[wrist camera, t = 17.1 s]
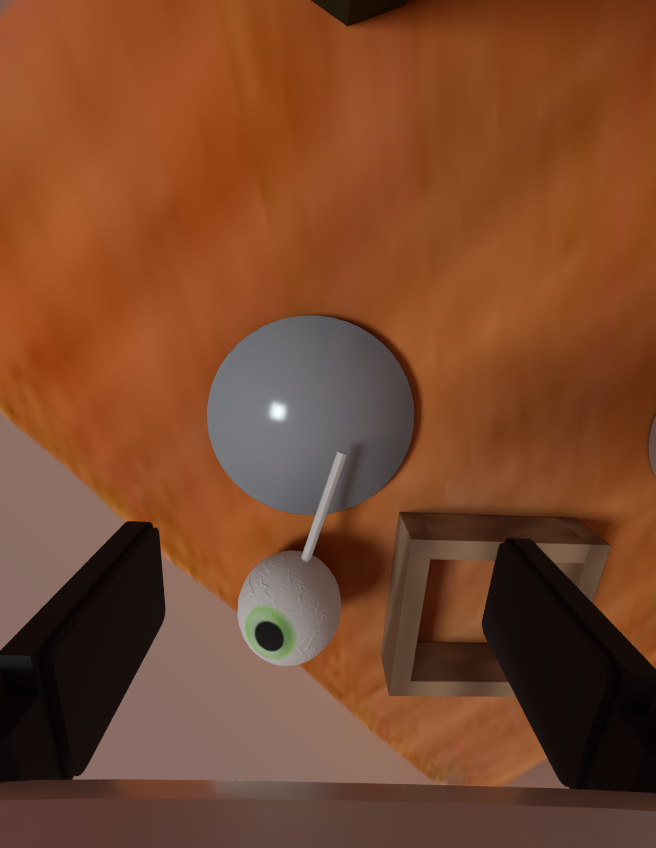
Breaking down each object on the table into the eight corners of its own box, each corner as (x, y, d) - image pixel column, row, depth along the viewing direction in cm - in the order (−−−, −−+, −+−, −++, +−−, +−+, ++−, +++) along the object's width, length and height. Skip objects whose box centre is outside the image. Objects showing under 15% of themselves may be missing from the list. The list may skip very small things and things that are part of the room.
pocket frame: (575, 518, 28) (611, 545, 25) (536, 657, 32) (562, 696, 29) (399, 512, 27) (411, 539, 24) (381, 655, 31) (389, 696, 28)
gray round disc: (423, 322, 23) (427, 322, 23) (399, 512, 27) (401, 518, 26) (207, 308, 23) (203, 308, 22) (213, 506, 27) (210, 511, 26)
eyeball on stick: (386, 484, 19) (301, 716, 21) (399, 464, 26) (334, 641, 28) (271, 438, 21) (203, 655, 23) (312, 430, 28) (256, 598, 30)
